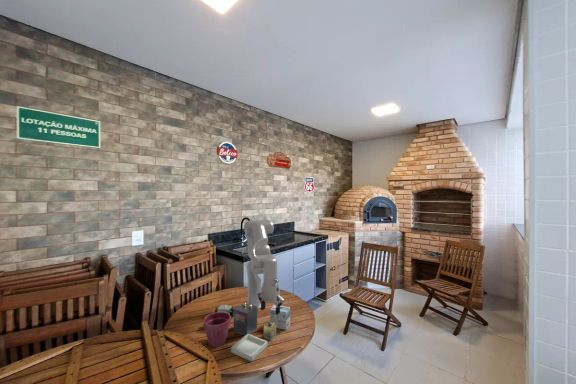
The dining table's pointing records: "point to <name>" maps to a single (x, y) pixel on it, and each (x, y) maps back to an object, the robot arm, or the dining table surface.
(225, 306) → the pneumatic valve
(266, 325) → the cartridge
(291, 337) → the dining table surface
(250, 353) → the tray
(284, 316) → the light bulb box
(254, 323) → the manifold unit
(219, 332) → the plant pot
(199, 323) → the dining table surface
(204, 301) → the dining table surface
